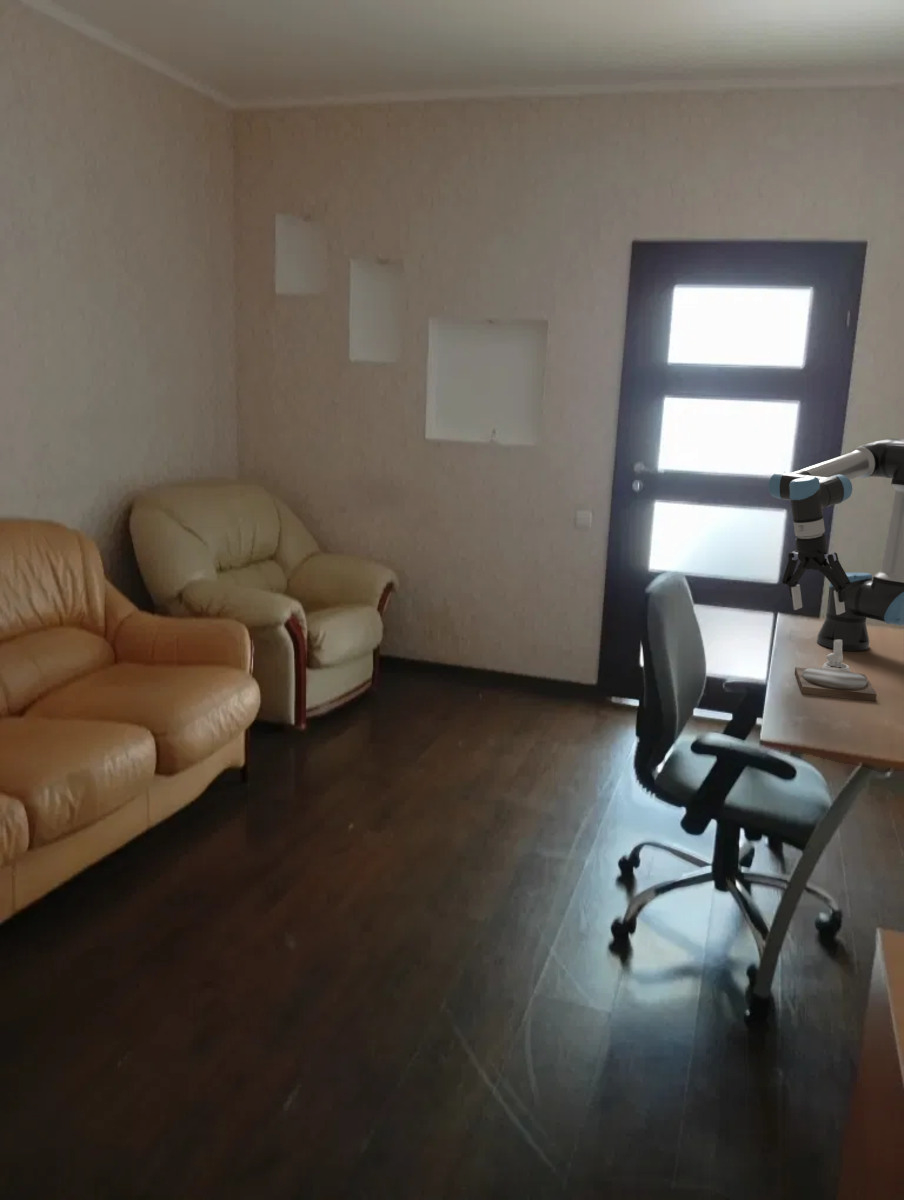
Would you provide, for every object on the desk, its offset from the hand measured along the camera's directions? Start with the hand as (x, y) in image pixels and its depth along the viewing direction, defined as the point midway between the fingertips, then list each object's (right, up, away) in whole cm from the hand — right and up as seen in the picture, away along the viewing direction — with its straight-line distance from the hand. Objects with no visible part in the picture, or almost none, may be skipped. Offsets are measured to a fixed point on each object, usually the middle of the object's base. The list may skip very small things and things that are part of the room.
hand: (819, 610), depth 246 cm
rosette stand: (+2, -20, -4) cm, 21 cm away
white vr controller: (+10, -17, +12) cm, 23 cm away
